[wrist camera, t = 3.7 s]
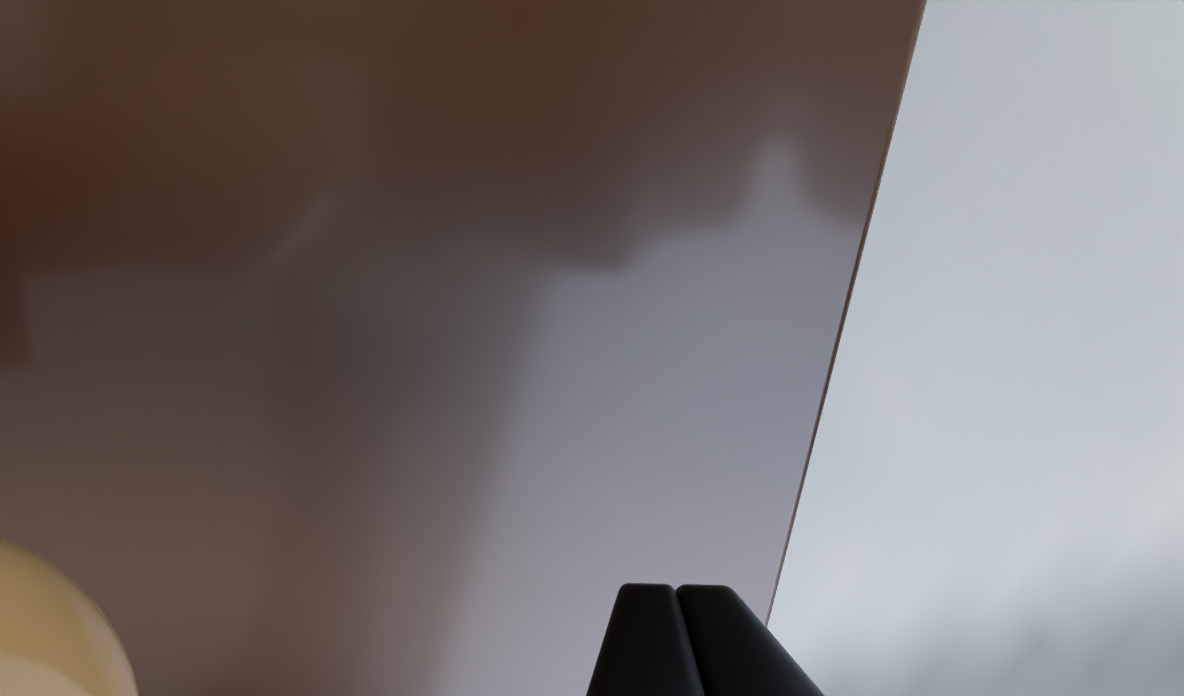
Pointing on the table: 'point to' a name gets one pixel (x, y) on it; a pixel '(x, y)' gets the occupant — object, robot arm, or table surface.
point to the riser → (422, 318)
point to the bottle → (55, 633)
